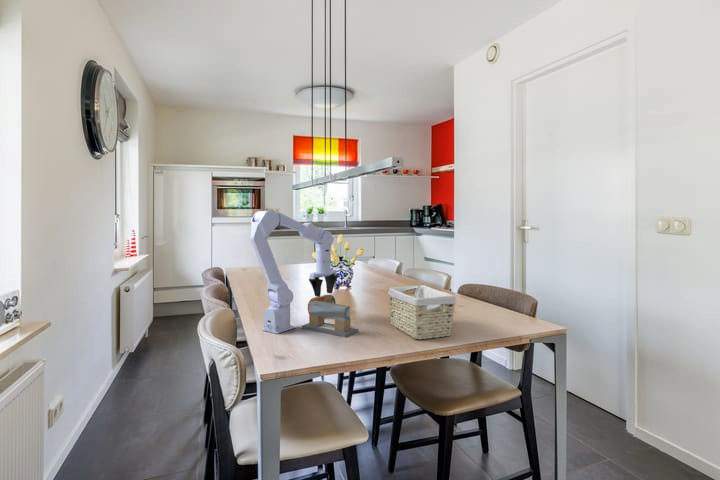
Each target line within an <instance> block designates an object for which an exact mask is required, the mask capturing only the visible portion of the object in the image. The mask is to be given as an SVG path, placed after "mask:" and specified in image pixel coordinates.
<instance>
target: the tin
mask: <svg viewBox="0 0 720 480" xmlns="http://www.w3.org/2000/svg"><path fill="white" fill-rule="evenodd" d="M313 301H319V302H326V303H332V304H336V299H335V297H334V296H333V294H324V295H320V297H317V296H313V297H312V298H310V299H309V301H308V303H307V313H308V316H309V315H310V314H309V303H310V302H313Z"/></svg>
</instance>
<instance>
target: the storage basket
mask: <svg viewBox="0 0 720 480" xmlns="http://www.w3.org/2000/svg"><path fill="white" fill-rule="evenodd" d="M387 295H388V297H389V299H388V301H389V316H390V317H389V318H390V319H389V320H390V325H391V326H393V327H395V328H396V329H398V330H399V331H401V332H403V333H404V334H406V335H408V336H411V337H412V338H413V339H415V340H426V339H434V338H435V339H437V338H443V337H449V336H451V335H452V329H453V318H454V311H455V305H456V303H457V301H456V296H455V295H454V294H451V293H448V292H445V291H442V290H439V289H436V288H433V287H430V286H427V285H424V284H419V285H406V286H394V287H393V286H392V287H390V288H388V292H387Z"/></svg>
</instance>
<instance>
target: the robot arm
mask: <svg viewBox="0 0 720 480" xmlns="http://www.w3.org/2000/svg"><path fill="white" fill-rule="evenodd" d="M250 222H251V227H250V237H249V239H250V241H251V245H252V246H253V249H254V252H255V254H256V256H257V257H256V258H257V259H258V262H259V265H260V267H261V269H262V271H263V275H264V278H265V280H266V286H265V287H266V290H267V293H266V296H267V298H268V300H269V302H270V303H269V304H270V305H269V307H267V308H265V310H264V311H263V328H261V329H262V331H264V332H269V333H273V334H281V333H283V332H286V331H288V330H292V329H296V326H295V325H291V304H292V302H293V300H294V293H293V291H292V290H291V289H290V288H289V287H288V284H287V283H286V282H285V281H284V279H283V277H282V275H281V272H280V270H279V268H278V266H277V262H276V259H275V257H274V255H273V252H272V250H271V249H272V248H271V247H270V243H269V241H268V238H269V236H270V234H271V233H272V232H273V231H274V230H275V229H276V228H277V227H279V226H283V227H285V228H289V229H291V230H294V231H296V232H298V234H299V235H300V237H302V238H304V239H306V240H309V241H311V242H313V243H314V244H315V253H316V254H315V255H316V256H315V257H316V259H315V260H316V261H315V262H316V264H315V265H316V266H315V267H316V269H315V272H312V273H310V274H309V278H308V281H309V283H310V285H311V287H312V289H313V293H314V297H320V296H321V293H322V284H323V281H325V285H326V286H325V287H326V293H327V294H333V291H334V288H335V284H336V282H337V280H338V275H337V274H338V273H337V272H338V271H337V269H331V268H332V266H331V264H332V261H331V260H332V256H331V252H332V244H333V242H334V241H335V240H334V239H335V238H334V237H333V233H332V232H330V231H329V230H323V227H318V226H315V225H314V223H313V222H311V221H310V222H304V223H301V222H299V221H297V220H296V219H294V218H291V217H289V216H287V215H285V214H283V213H281V212H276V211H275V210H257V211H256V212H255V213H254V214H253V216H252V218H251V220H250ZM320 278H324V279H320Z"/></svg>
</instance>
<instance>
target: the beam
mask: <svg viewBox="0 0 720 480" xmlns="http://www.w3.org/2000/svg"><path fill="white" fill-rule="evenodd" d="M308 303H309V302H308ZM309 314H310V315H315V316H321V317H324V318H326V319H332V320H335V319H337V320H343V321H345V320H348V319H350V320H351V306H350V305H344V304H338V303H337V304H332V303H326V302H319V301H313V302H310V303H309V313H308V315H309Z"/></svg>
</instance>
